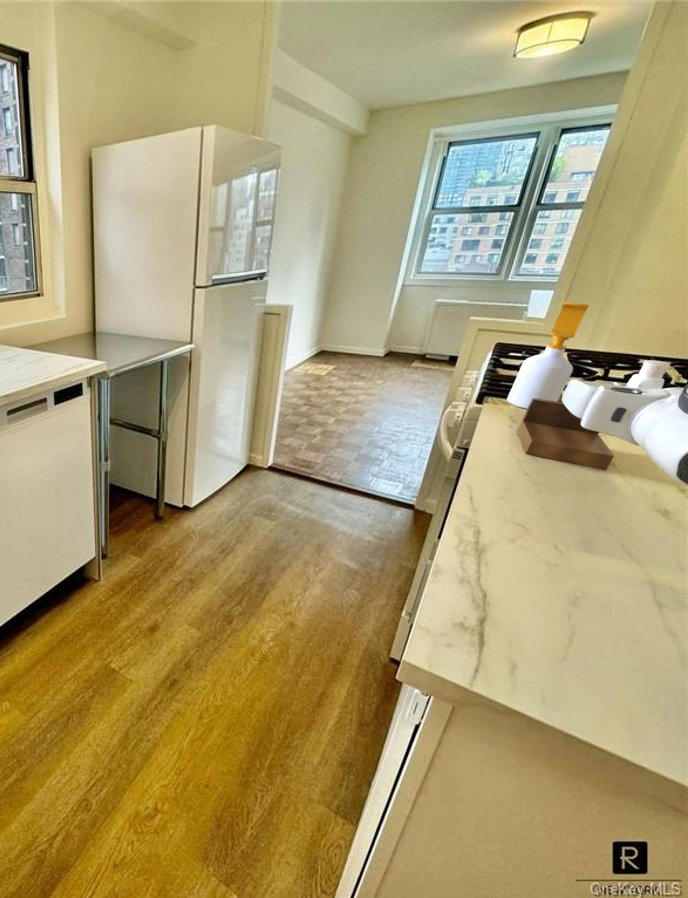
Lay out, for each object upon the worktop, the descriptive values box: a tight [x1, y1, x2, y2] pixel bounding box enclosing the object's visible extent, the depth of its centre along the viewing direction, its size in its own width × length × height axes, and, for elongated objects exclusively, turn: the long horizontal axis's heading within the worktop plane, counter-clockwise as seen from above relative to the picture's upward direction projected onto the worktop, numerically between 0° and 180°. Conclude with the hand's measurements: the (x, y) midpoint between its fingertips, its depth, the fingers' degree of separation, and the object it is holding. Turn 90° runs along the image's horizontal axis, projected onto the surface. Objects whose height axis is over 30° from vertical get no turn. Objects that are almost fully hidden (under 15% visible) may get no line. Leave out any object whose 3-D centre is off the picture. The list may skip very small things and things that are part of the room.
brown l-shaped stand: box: [516, 398, 615, 471], centre depth 96 cm, size 12×12×8 cm
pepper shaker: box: [626, 359, 671, 389], centre depth 78 cm, size 5×5×11 cm
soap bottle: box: [506, 302, 589, 410], centre depth 113 cm, size 9×9×25 cm
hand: (638, 390), depth 79 cm, fingers closed on pepper shaker, 4 cm apart
